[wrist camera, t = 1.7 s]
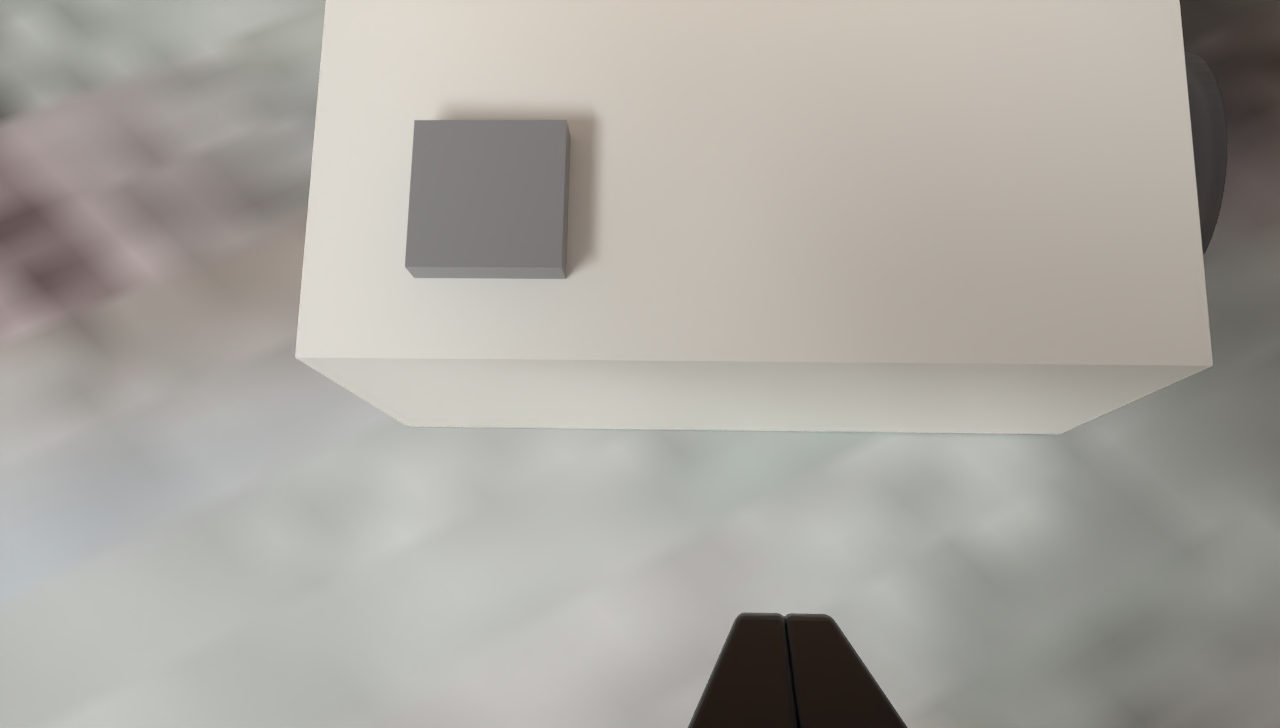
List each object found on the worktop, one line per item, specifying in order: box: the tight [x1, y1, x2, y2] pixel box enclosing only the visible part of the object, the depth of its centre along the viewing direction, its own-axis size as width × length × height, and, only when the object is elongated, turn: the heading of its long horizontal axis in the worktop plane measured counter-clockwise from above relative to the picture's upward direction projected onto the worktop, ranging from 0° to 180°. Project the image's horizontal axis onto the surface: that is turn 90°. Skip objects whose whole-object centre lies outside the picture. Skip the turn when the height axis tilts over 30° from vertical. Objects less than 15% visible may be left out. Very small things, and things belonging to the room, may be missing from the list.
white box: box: [295, 0, 1227, 434], centre depth 21 cm, size 9×15×8 cm, turn 89°
